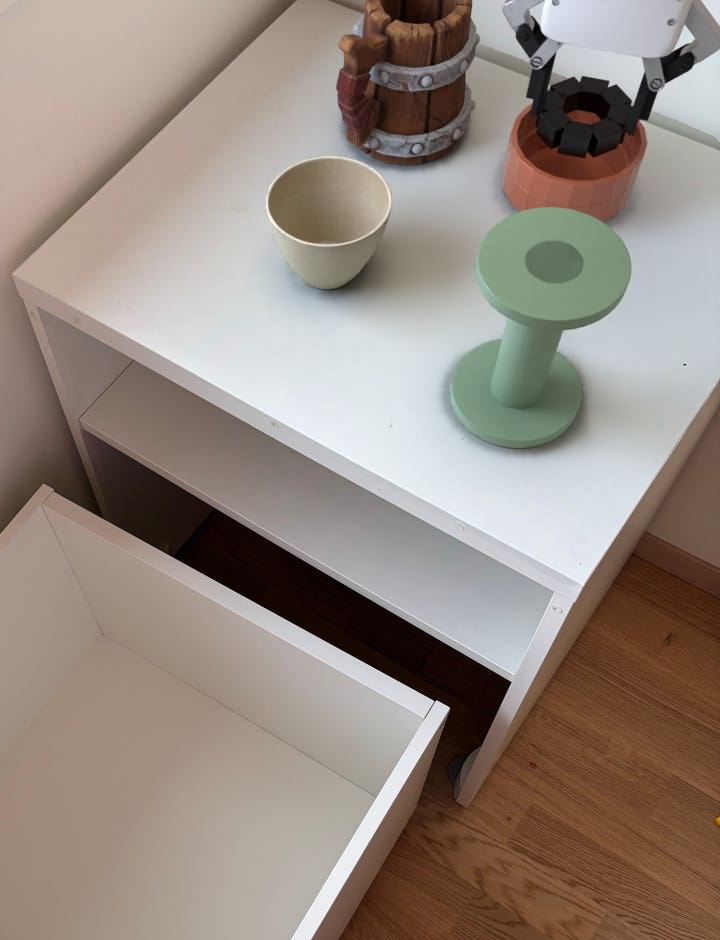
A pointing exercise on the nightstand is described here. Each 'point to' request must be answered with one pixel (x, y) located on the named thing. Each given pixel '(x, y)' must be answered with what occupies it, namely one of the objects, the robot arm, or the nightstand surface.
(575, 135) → the ring
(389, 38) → the mug
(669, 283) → the nightstand surface
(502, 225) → the stand
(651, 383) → the nightstand surface
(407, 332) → the nightstand surface
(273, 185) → the flower pot
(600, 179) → the bowl
